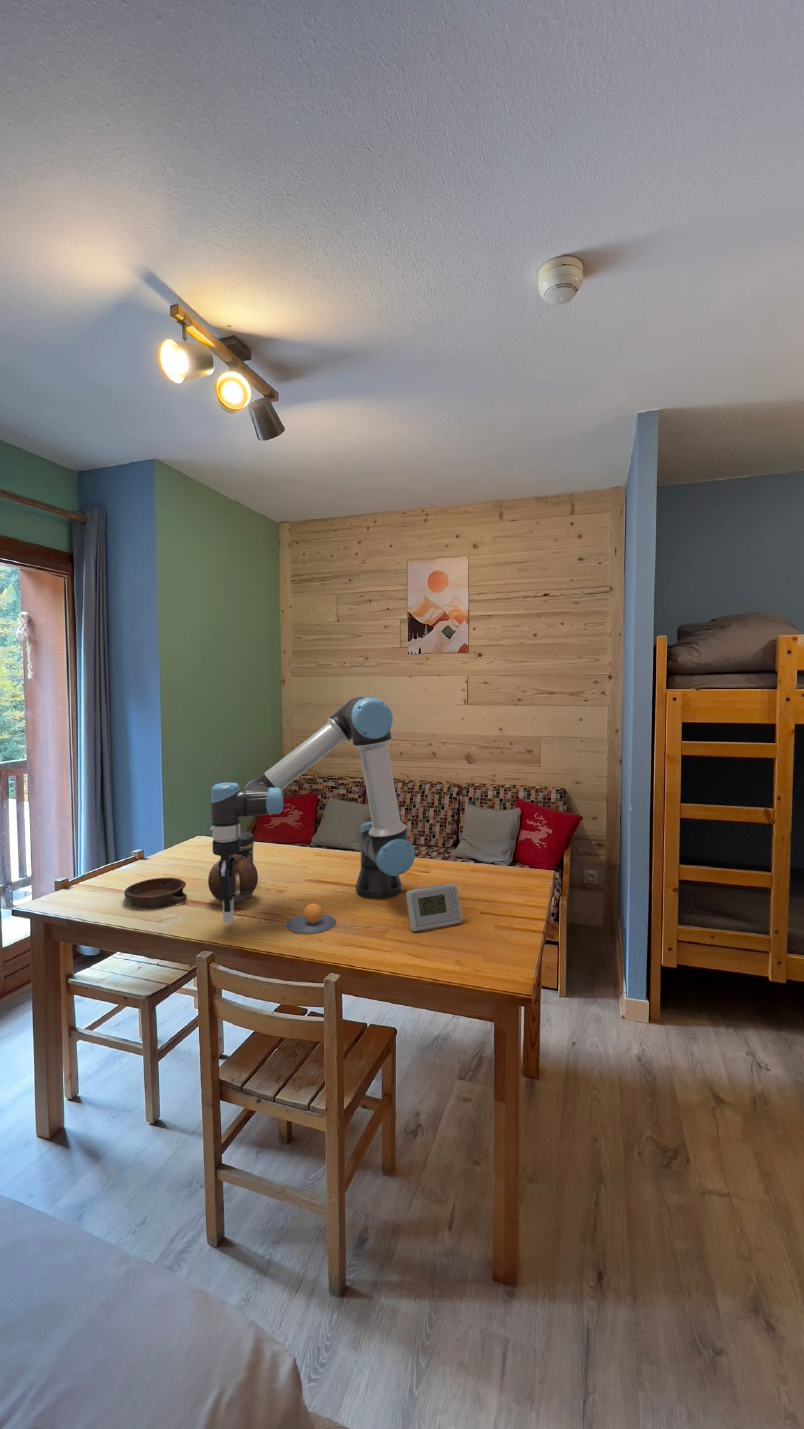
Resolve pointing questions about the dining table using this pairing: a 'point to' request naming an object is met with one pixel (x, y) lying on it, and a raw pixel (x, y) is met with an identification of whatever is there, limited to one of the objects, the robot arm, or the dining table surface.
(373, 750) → the robot arm
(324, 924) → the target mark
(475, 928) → the dining table surface
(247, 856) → the coffee jar
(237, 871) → the wooden sphere
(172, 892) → the dish
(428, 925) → the digital clock
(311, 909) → the ball
